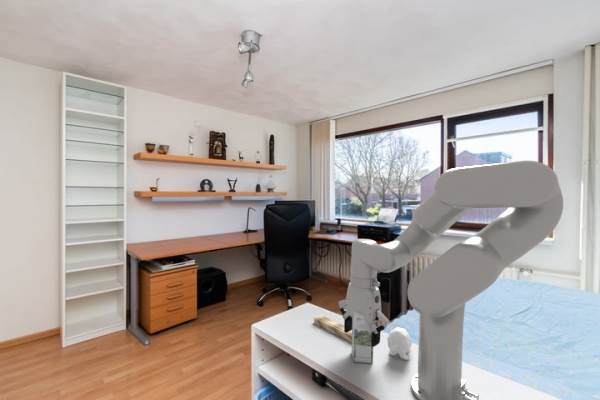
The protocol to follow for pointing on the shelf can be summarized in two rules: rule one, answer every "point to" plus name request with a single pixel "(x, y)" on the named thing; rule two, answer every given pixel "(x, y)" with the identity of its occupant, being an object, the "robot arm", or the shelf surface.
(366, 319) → the robot arm
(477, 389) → the shelf surface
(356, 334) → the syrup box
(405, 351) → the white figurine
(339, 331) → the plank
